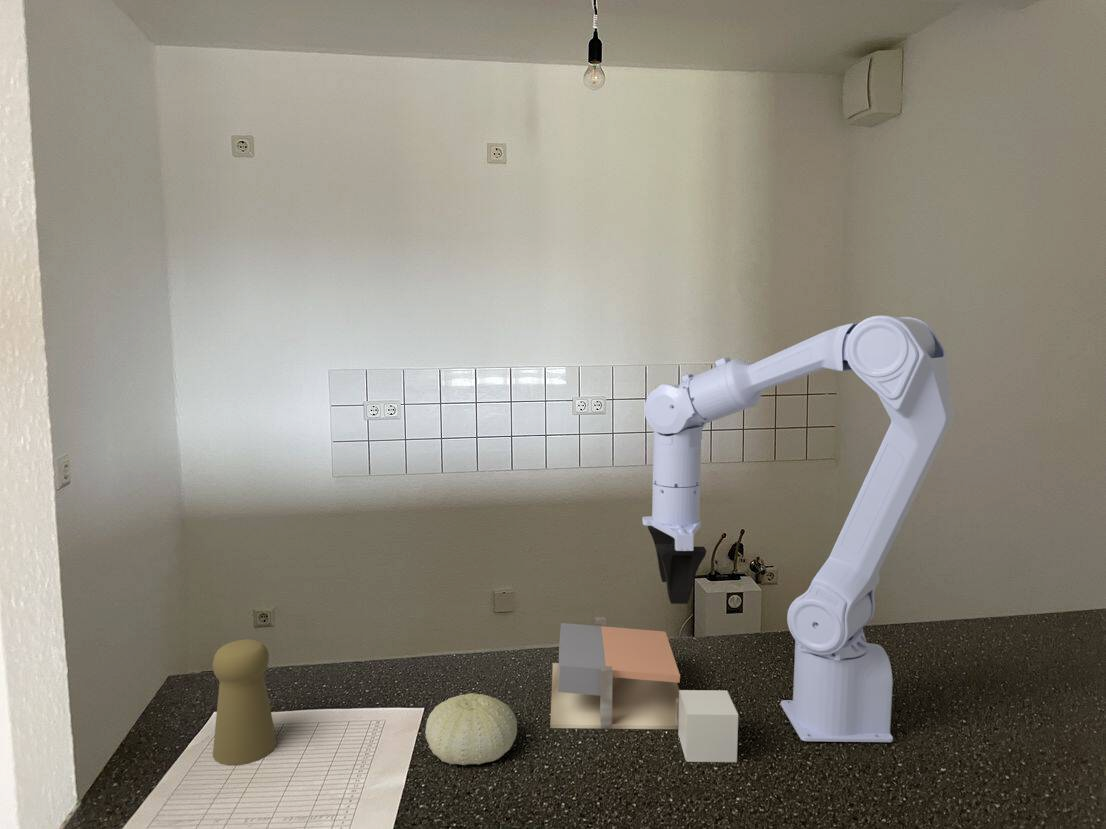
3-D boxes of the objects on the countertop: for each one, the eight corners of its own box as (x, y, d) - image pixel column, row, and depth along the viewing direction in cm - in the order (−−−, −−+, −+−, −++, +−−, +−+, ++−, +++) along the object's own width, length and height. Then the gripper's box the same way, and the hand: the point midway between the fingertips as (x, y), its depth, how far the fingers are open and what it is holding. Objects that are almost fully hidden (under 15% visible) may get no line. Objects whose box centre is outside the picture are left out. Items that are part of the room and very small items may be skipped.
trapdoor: (663, 654, 93) (665, 631, 92) (677, 702, 81) (680, 675, 80) (559, 646, 93) (561, 622, 92) (558, 692, 81) (560, 665, 81)
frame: (671, 666, 94) (671, 617, 94) (690, 729, 79) (691, 671, 79) (552, 665, 95) (552, 616, 94) (550, 728, 80) (550, 669, 79)
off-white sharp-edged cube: (725, 735, 78) (727, 690, 78) (736, 762, 74) (738, 714, 73) (678, 735, 79) (679, 690, 78) (686, 762, 74) (687, 714, 73)
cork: (214, 771, 72) (208, 662, 71) (210, 741, 77) (205, 639, 76) (280, 755, 75) (276, 649, 73) (272, 727, 80) (268, 628, 79)
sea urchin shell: (512, 760, 71) (454, 697, 71) (457, 807, 72) (401, 746, 73) (534, 712, 79) (482, 656, 80) (484, 755, 81) (434, 701, 82)
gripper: (637, 471, 98) (636, 572, 99) (649, 495, 83) (648, 613, 85) (691, 472, 97) (689, 572, 99) (713, 496, 83) (710, 613, 85)
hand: (674, 591), depth 92 cm, fingers open, 7 cm apart
